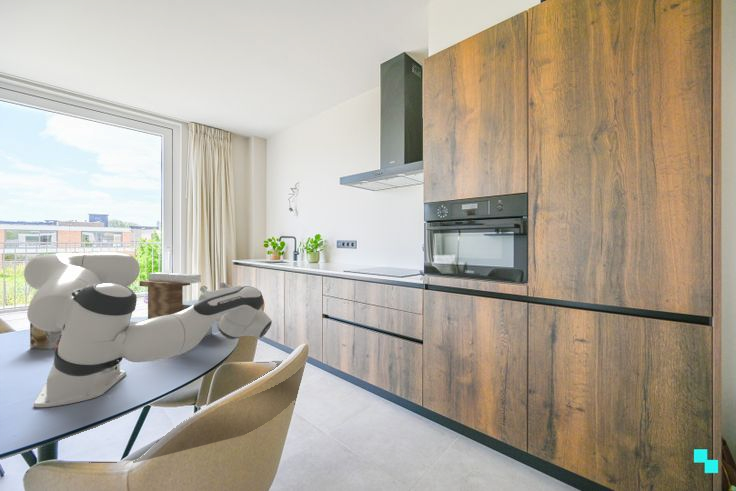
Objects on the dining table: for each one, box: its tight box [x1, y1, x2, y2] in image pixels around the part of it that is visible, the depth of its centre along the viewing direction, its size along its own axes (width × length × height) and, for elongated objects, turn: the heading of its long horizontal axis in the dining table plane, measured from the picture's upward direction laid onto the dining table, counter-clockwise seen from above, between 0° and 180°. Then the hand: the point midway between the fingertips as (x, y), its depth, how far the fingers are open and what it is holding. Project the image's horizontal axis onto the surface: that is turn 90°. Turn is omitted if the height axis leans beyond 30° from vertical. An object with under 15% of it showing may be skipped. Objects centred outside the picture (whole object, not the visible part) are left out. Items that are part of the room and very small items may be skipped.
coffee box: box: [29, 322, 62, 350], centre depth 123 cm, size 9×6×16 cm
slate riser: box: [183, 299, 213, 338], centre depth 138 cm, size 10×10×15 cm
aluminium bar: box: [148, 271, 202, 284], centre depth 126 cm, size 24×4×3 cm, turn 71°
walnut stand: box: [138, 279, 191, 319], centre depth 128 cm, size 18×10×26 cm, turn 71°
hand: (212, 285), depth 121 cm, fingers open, 8 cm apart
